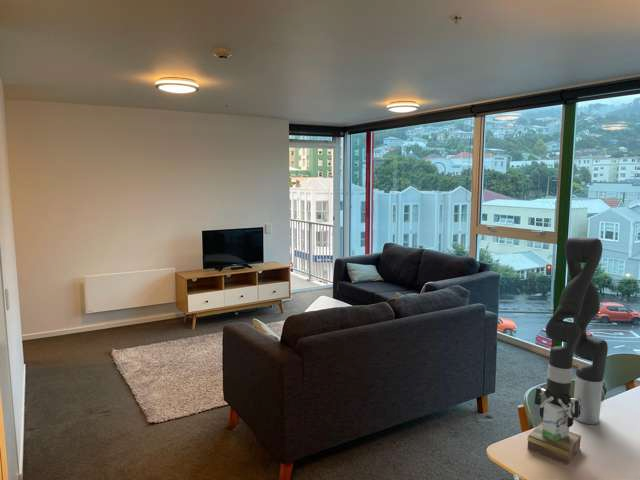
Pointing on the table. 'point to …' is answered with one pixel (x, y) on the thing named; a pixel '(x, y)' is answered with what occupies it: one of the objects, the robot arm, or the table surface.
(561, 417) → the ink box
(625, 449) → the table surface
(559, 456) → the walnut dock
